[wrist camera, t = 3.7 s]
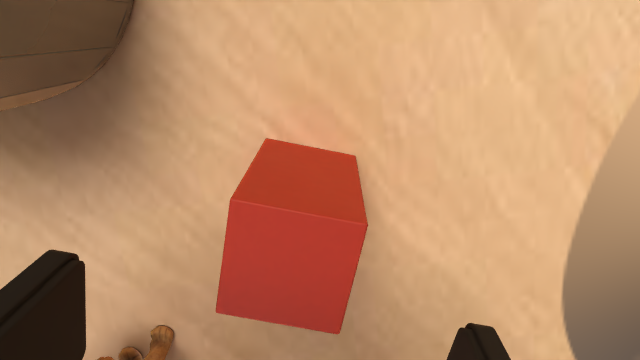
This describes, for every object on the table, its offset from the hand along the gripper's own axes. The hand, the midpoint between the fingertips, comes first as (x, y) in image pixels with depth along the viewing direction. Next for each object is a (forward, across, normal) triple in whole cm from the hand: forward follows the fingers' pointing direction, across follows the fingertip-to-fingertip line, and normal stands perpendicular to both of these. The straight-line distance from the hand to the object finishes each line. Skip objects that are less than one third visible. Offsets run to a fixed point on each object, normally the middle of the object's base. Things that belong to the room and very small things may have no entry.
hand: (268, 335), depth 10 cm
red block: (+11, 0, 0) cm, 11 cm away
